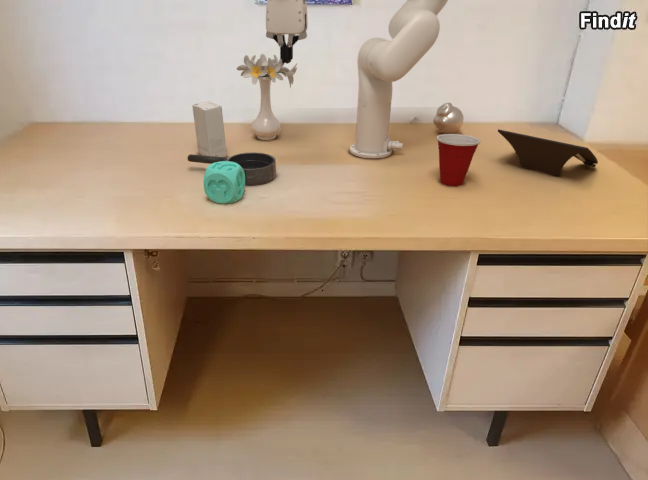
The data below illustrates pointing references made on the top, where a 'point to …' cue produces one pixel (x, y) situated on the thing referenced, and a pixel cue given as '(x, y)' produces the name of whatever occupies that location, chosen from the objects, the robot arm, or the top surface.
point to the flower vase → (265, 91)
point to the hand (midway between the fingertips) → (286, 62)
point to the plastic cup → (455, 157)
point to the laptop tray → (546, 153)
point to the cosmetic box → (209, 129)
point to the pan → (256, 167)
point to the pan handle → (205, 159)
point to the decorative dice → (224, 182)
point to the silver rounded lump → (448, 119)
